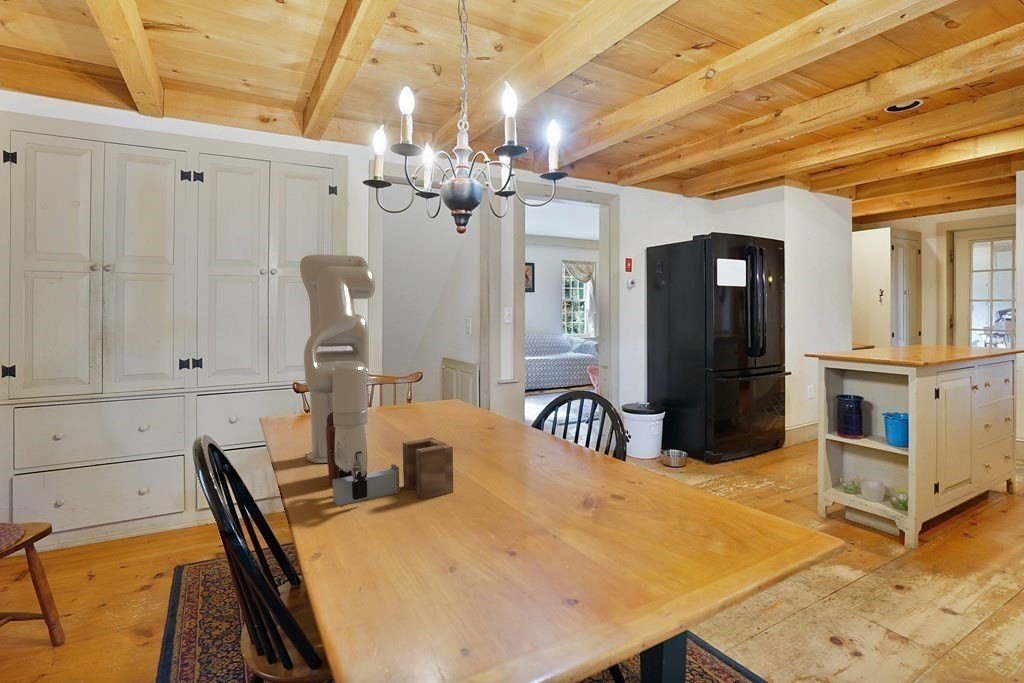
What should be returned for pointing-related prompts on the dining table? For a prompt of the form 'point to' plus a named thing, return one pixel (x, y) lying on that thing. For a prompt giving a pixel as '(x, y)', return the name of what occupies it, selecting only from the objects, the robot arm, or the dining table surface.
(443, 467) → the brown wooden u-shaped block
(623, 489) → the dining table surface
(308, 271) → the robot arm
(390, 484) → the rail
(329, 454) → the wooden figurine
